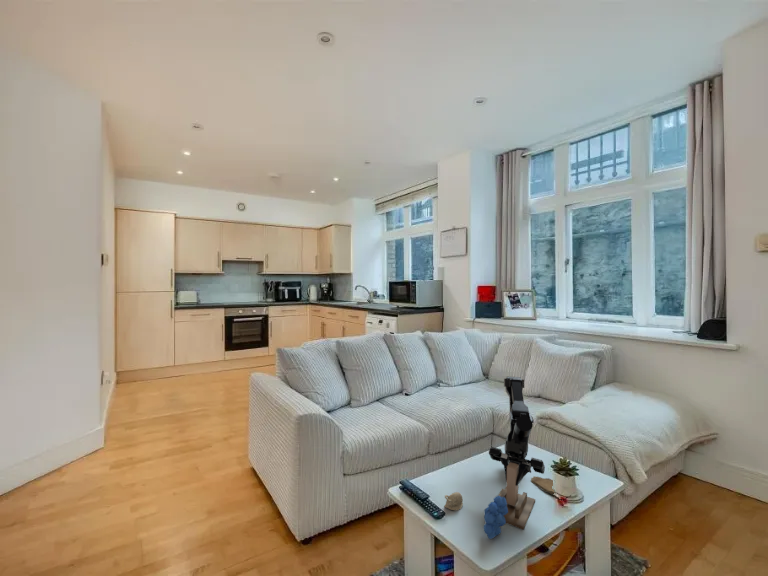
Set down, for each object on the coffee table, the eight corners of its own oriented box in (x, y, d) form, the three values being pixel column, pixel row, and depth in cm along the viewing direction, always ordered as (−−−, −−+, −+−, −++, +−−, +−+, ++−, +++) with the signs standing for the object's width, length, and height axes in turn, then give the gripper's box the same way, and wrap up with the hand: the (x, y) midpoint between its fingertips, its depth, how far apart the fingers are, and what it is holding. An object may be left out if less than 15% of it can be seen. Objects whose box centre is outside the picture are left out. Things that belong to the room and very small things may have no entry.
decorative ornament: (466, 507, 131) (466, 492, 130) (447, 514, 127) (447, 498, 127) (459, 501, 134) (459, 486, 134) (440, 507, 130) (440, 492, 130)
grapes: (494, 520, 124) (494, 485, 123) (512, 530, 119) (513, 494, 118) (473, 535, 116) (473, 498, 116) (492, 547, 111) (492, 508, 111)
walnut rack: (502, 491, 141) (502, 480, 141) (535, 501, 134) (535, 491, 134) (487, 516, 126) (487, 504, 126) (523, 529, 119) (523, 517, 119)
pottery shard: (526, 486, 146) (563, 502, 134) (525, 480, 147) (562, 494, 135) (537, 480, 151) (574, 494, 139) (537, 473, 152) (574, 487, 140)
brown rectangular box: (506, 503, 129) (506, 466, 129) (509, 497, 132) (510, 462, 132) (515, 506, 127) (515, 469, 127) (517, 500, 131) (518, 464, 130)
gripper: (490, 425, 138) (480, 467, 129) (543, 438, 127) (536, 484, 118) (496, 438, 144) (487, 478, 136) (547, 451, 134) (541, 495, 125)
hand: (511, 483), depth 129 cm, fingers closed on brown rectangular box, 3 cm apart
